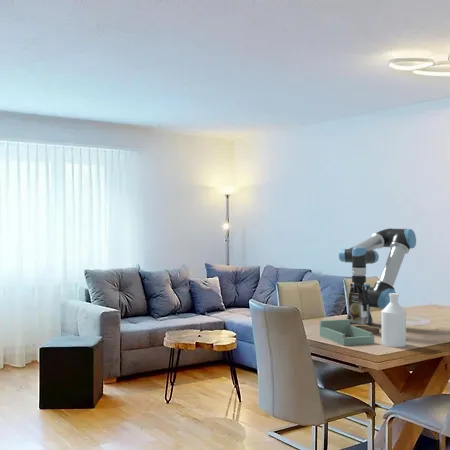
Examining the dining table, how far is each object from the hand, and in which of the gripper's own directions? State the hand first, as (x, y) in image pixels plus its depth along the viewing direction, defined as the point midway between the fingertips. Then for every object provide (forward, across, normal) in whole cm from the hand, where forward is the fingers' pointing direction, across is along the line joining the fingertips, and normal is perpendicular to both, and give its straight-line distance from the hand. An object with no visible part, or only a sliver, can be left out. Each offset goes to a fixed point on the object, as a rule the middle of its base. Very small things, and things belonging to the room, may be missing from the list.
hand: (358, 315), depth 325 cm
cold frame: (+9, +18, -18) cm, 27 cm away
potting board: (+9, 0, 0) cm, 9 cm away
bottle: (+9, +35, -2) cm, 36 cm away
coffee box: (+4, 0, 0) cm, 4 cm away
